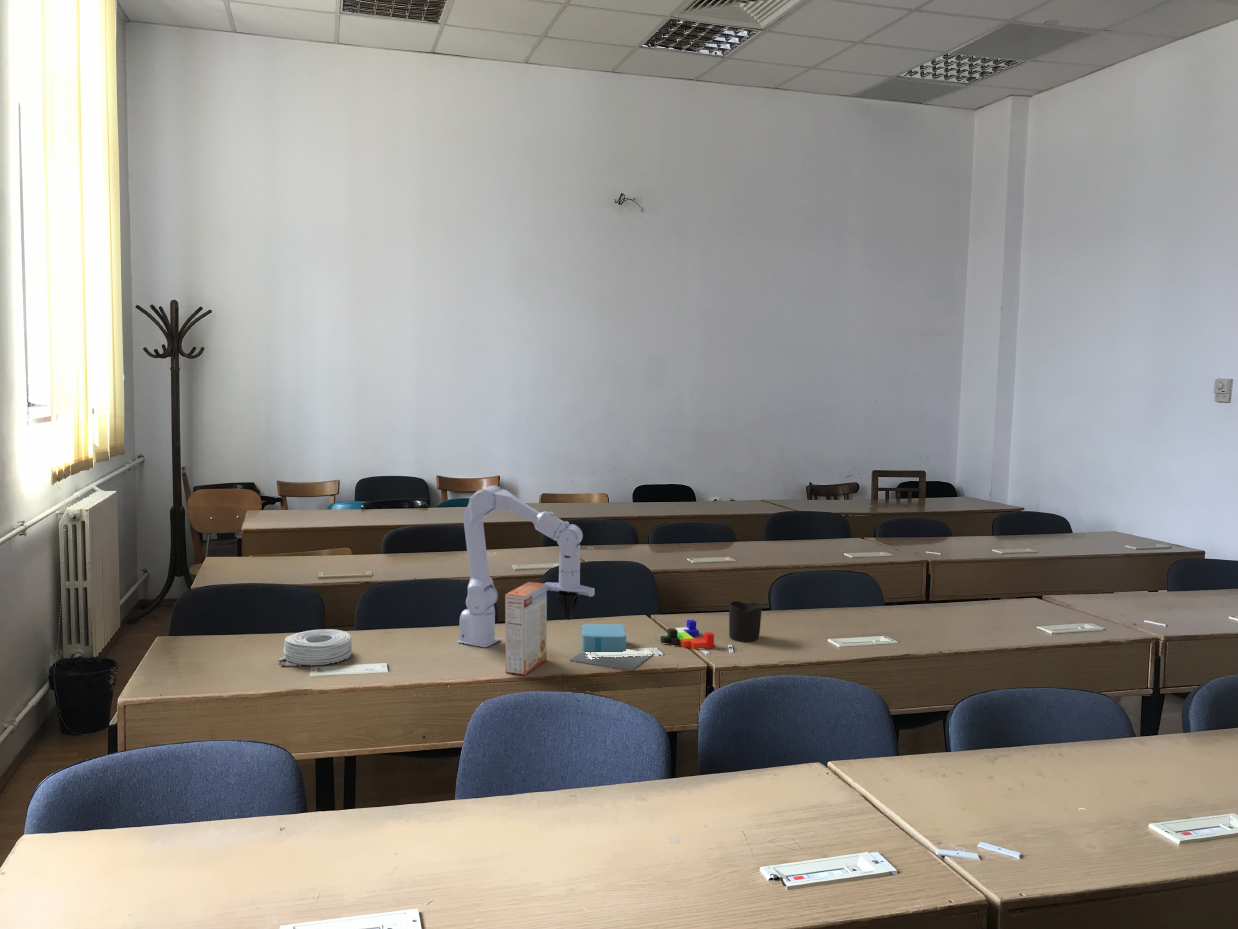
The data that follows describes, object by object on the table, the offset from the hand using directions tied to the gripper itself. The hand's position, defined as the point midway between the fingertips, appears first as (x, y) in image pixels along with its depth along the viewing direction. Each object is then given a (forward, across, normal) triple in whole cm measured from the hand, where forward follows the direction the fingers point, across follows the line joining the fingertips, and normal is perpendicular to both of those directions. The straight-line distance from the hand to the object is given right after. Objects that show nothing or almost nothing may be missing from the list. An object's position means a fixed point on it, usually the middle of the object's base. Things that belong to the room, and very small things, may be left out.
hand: (568, 618), depth 260 cm
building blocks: (+10, -26, -22) cm, 35 cm away
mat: (+9, -13, 0) cm, 16 cm away
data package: (+6, -2, -4) cm, 8 cm away
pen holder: (+9, -40, -34) cm, 54 cm away
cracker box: (+9, +4, +17) cm, 20 cm away
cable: (+9, +56, +36) cm, 67 cm away
